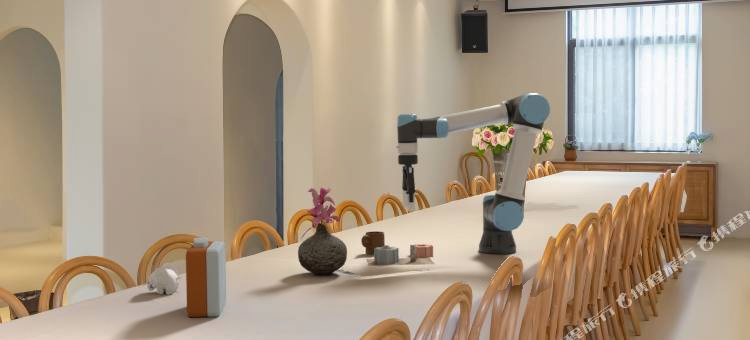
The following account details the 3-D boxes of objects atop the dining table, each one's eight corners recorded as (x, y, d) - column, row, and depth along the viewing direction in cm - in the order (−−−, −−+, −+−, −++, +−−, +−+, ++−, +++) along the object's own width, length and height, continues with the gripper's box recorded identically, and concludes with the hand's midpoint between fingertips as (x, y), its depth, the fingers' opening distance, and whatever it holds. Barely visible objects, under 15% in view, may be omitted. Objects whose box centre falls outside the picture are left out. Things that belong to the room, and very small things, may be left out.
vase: (353, 271, 281) (352, 187, 279) (335, 280, 264) (334, 191, 263) (310, 269, 286) (309, 186, 285) (289, 277, 270) (288, 190, 268)
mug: (370, 260, 305) (370, 235, 304) (354, 258, 309) (354, 234, 309) (388, 255, 314) (388, 232, 314) (373, 254, 319) (373, 230, 318)
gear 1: (391, 259, 299) (391, 245, 299) (402, 262, 291) (402, 249, 291) (370, 261, 295) (370, 247, 295) (381, 264, 287) (381, 250, 287)
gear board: (429, 260, 302) (429, 242, 301) (434, 267, 288) (434, 247, 287) (366, 262, 300) (366, 243, 299) (369, 268, 286) (368, 248, 285)
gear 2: (431, 256, 312) (431, 243, 312) (434, 259, 304) (434, 246, 303) (409, 256, 311) (409, 244, 311) (412, 260, 303) (412, 247, 303)
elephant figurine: (148, 289, 253) (148, 262, 252) (186, 289, 252) (185, 261, 252) (139, 296, 243) (138, 267, 242) (177, 295, 243) (177, 267, 242)
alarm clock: (196, 303, 232) (194, 233, 231) (226, 302, 233) (225, 233, 231) (186, 318, 213) (185, 243, 212) (219, 317, 214) (218, 242, 213)
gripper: (394, 153, 317) (395, 206, 318) (401, 155, 292) (403, 212, 293) (413, 152, 317) (414, 205, 319) (422, 155, 293) (423, 212, 294)
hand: (408, 209), depth 306 cm, fingers open, 13 cm apart
